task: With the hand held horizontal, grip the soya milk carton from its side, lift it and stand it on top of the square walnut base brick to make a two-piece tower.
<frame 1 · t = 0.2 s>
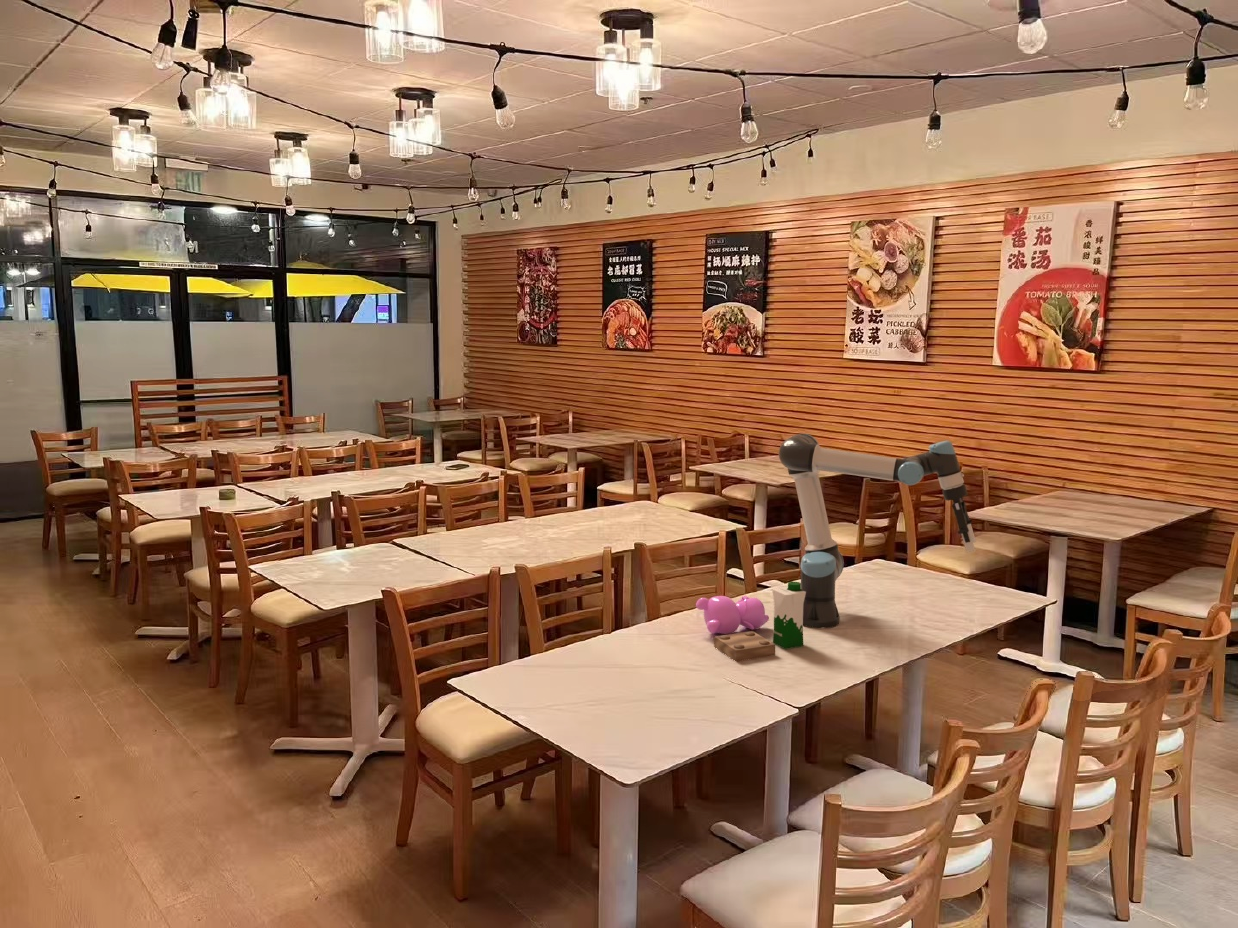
hand: (971, 547, 303), 28 cm above the table, tool tilted 20°, fingers open, 13 cm apart
soya milk: (787, 645, 291), on the table
toy character: (731, 631, 305), on the table
base brick: (744, 652, 285), on the table
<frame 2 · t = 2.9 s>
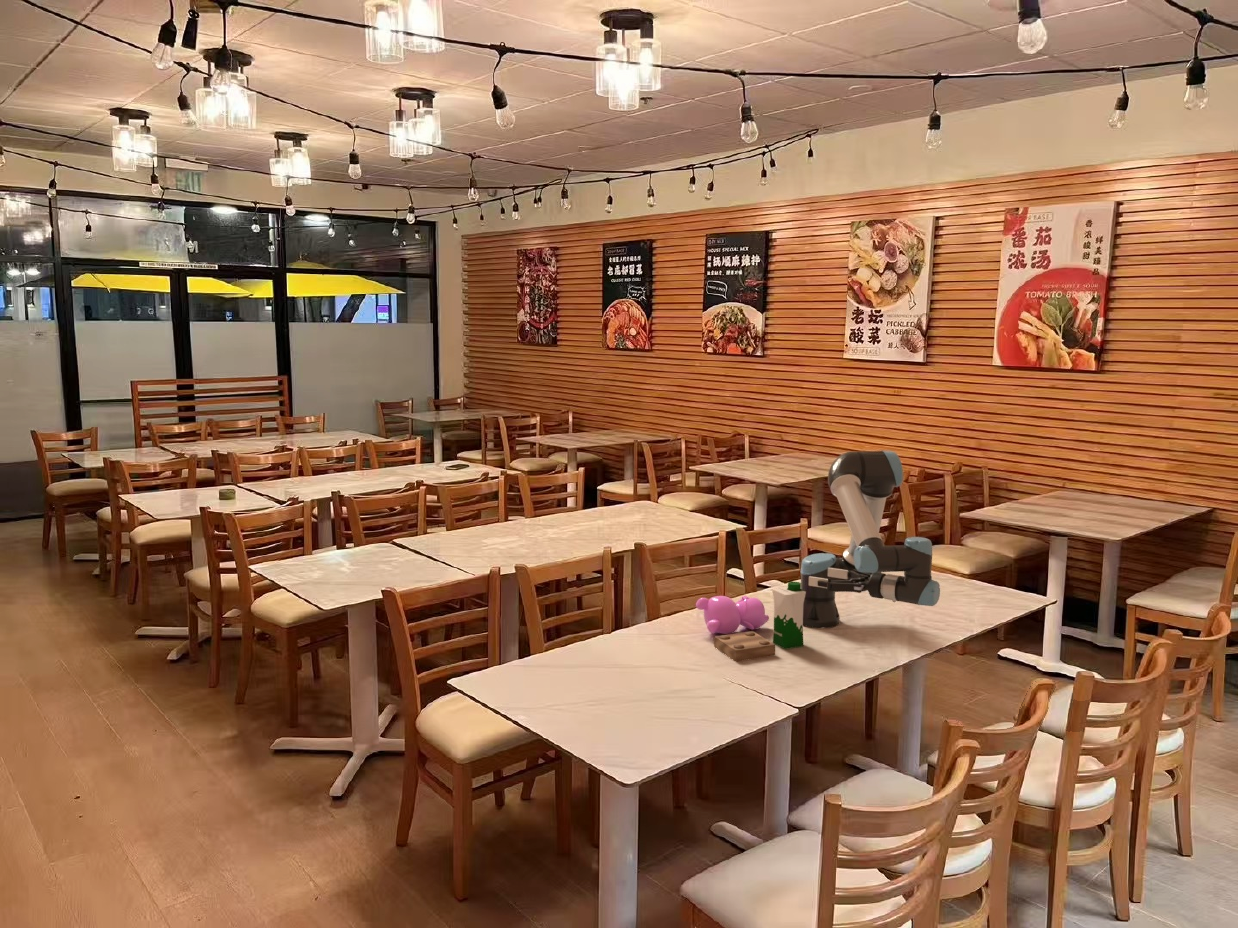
hand: (818, 576, 281), 24 cm above the table, tool horizontal, fingers open, 13 cm apart
nothing on the table moved.
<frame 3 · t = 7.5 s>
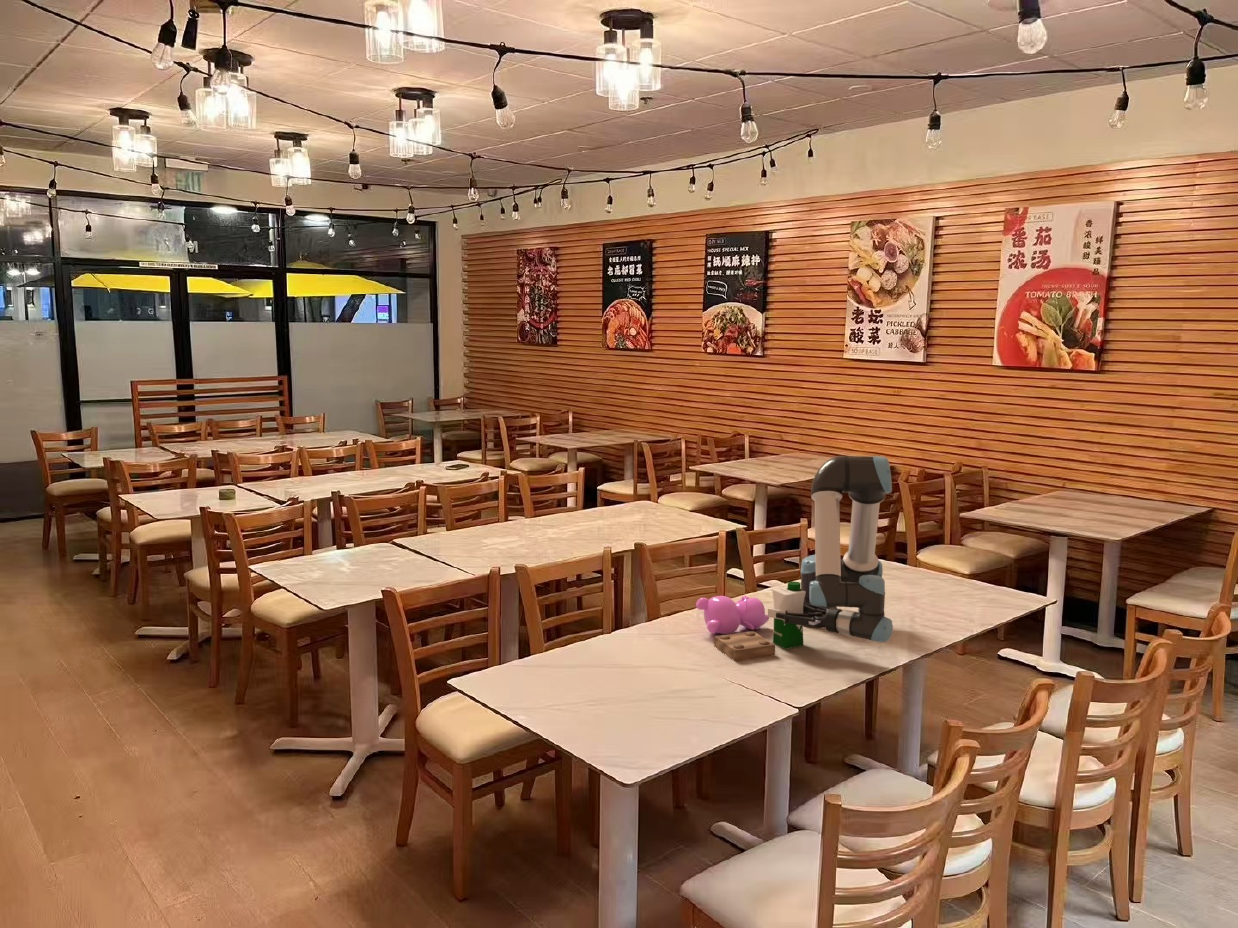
hand: (775, 608, 292), 11 cm above the table, tool horizontal, fingers closed on soya milk, 9 cm apart
soya milk: (787, 644, 291), on the table, touching gripper
everything else where it was.
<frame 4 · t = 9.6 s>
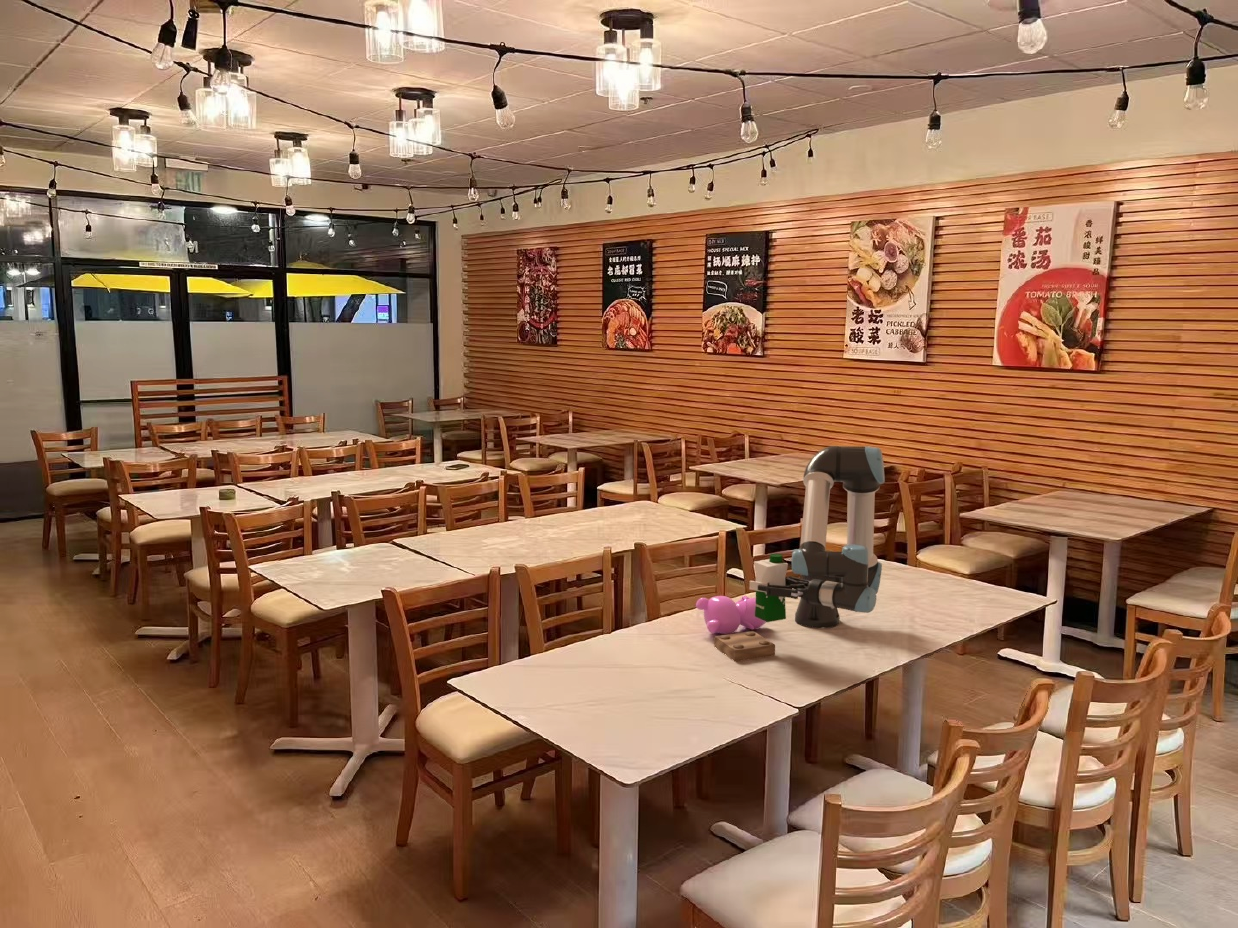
hand: (757, 581, 287), 21 cm above the table, tool horizontal, fingers closed on soya milk, 9 cm apart
soya milk: (770, 618, 285), point 10 cm above the table, touching gripper
everything else where it was.
when the fingers open (16 cm above the table, at t = 11.8 s): soya milk drops 2 cm, point 4 cm above the table.
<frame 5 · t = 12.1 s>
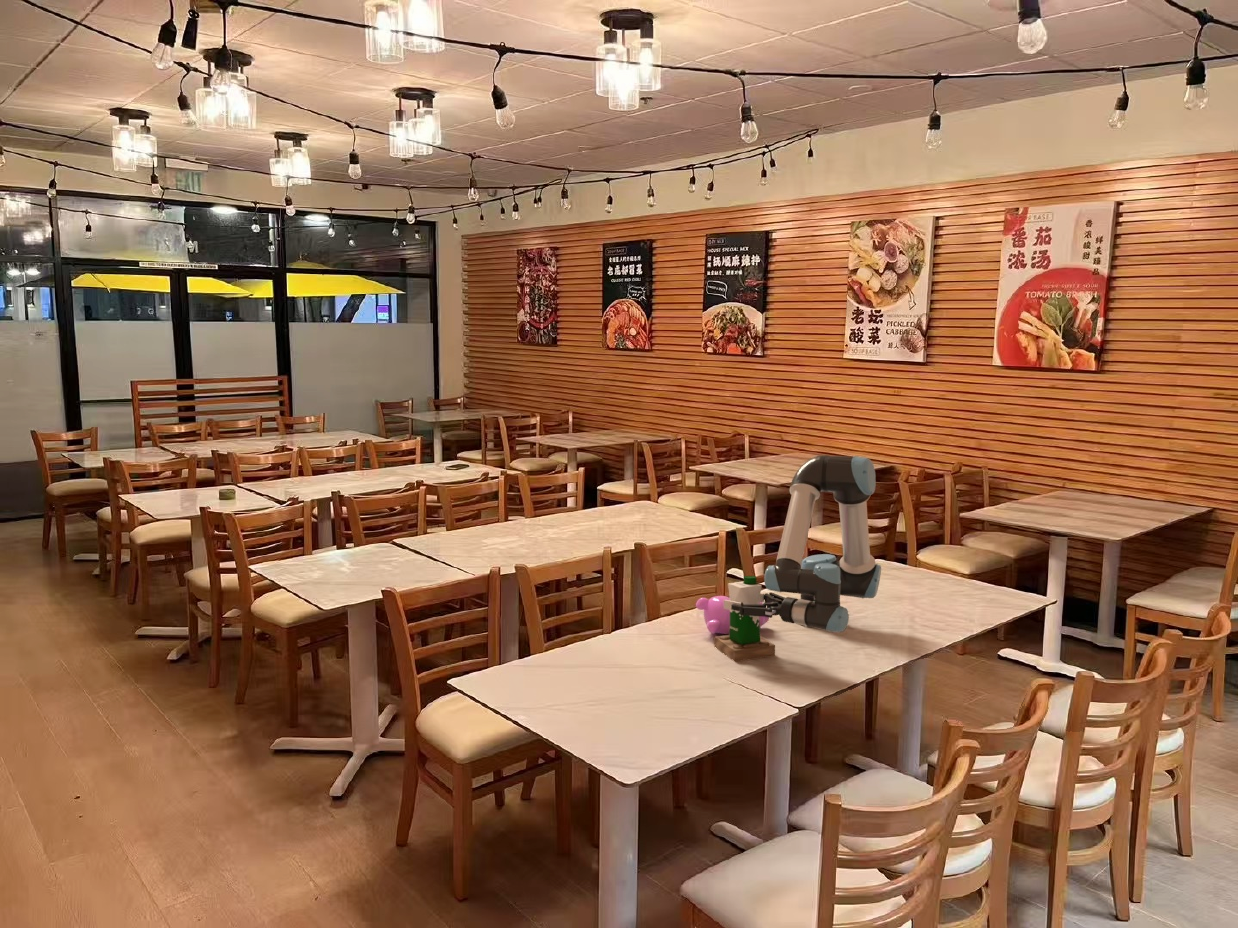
hand: (734, 599, 285), 16 cm above the table, tool horizontal, fingers open, 12 cm apart
soya milk: (744, 641, 284), point 4 cm above the table
everything else where it was.
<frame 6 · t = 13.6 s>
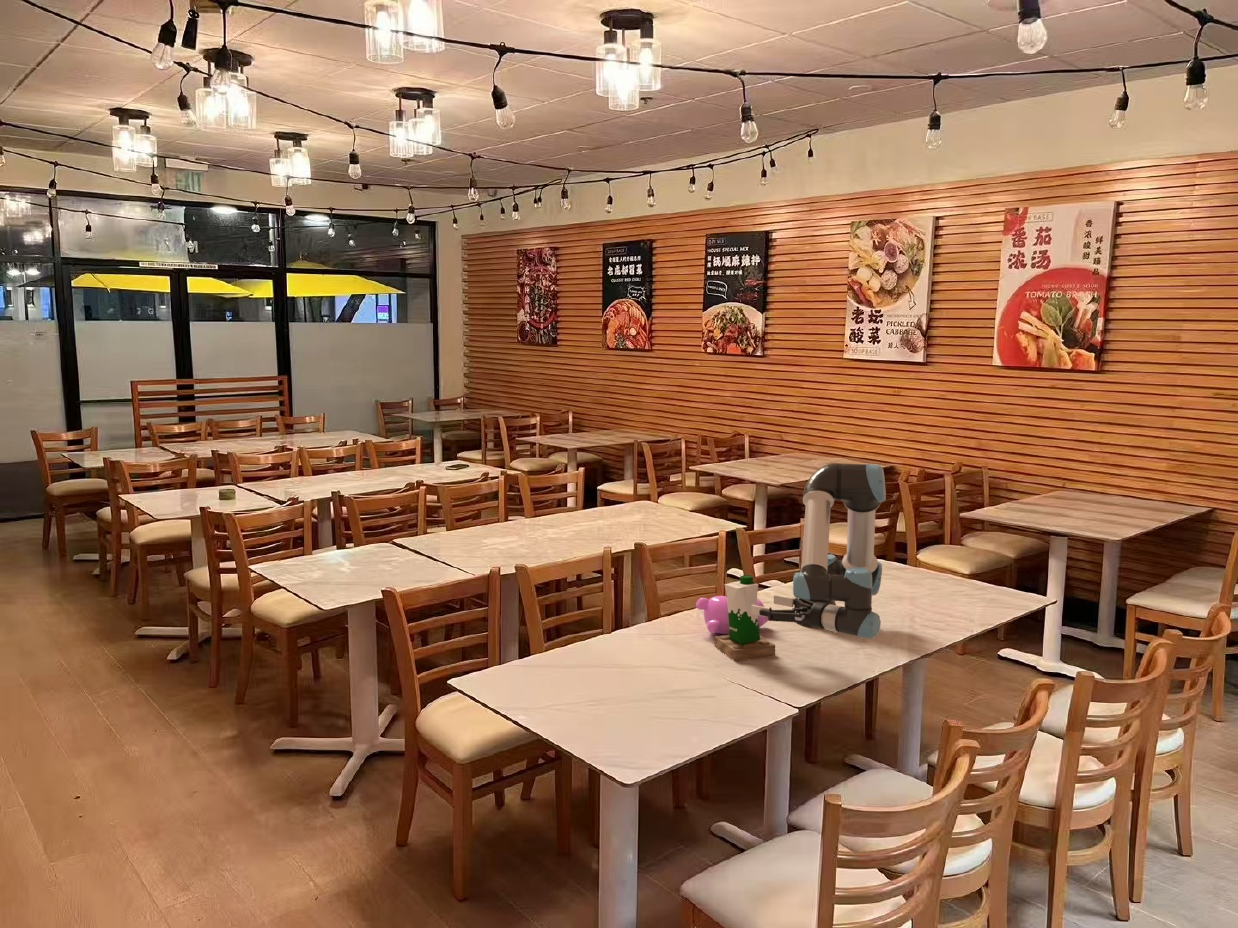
hand: (763, 604, 278), 17 cm above the table, tool horizontal, fingers open, 13 cm apart
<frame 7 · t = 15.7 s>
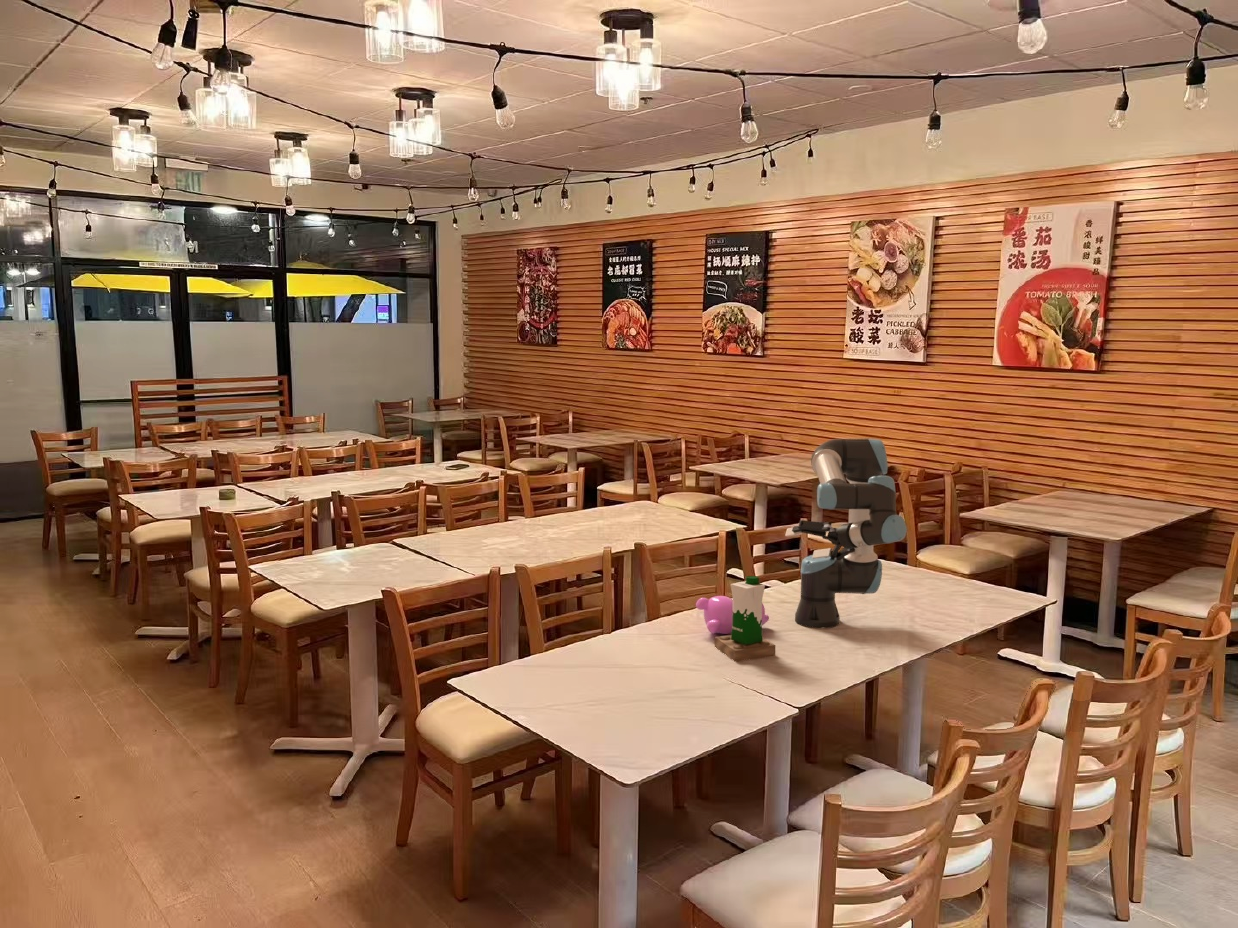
hand: (800, 543, 283), 34 cm above the table, tool tilted 75°, fingers open, 13 cm apart
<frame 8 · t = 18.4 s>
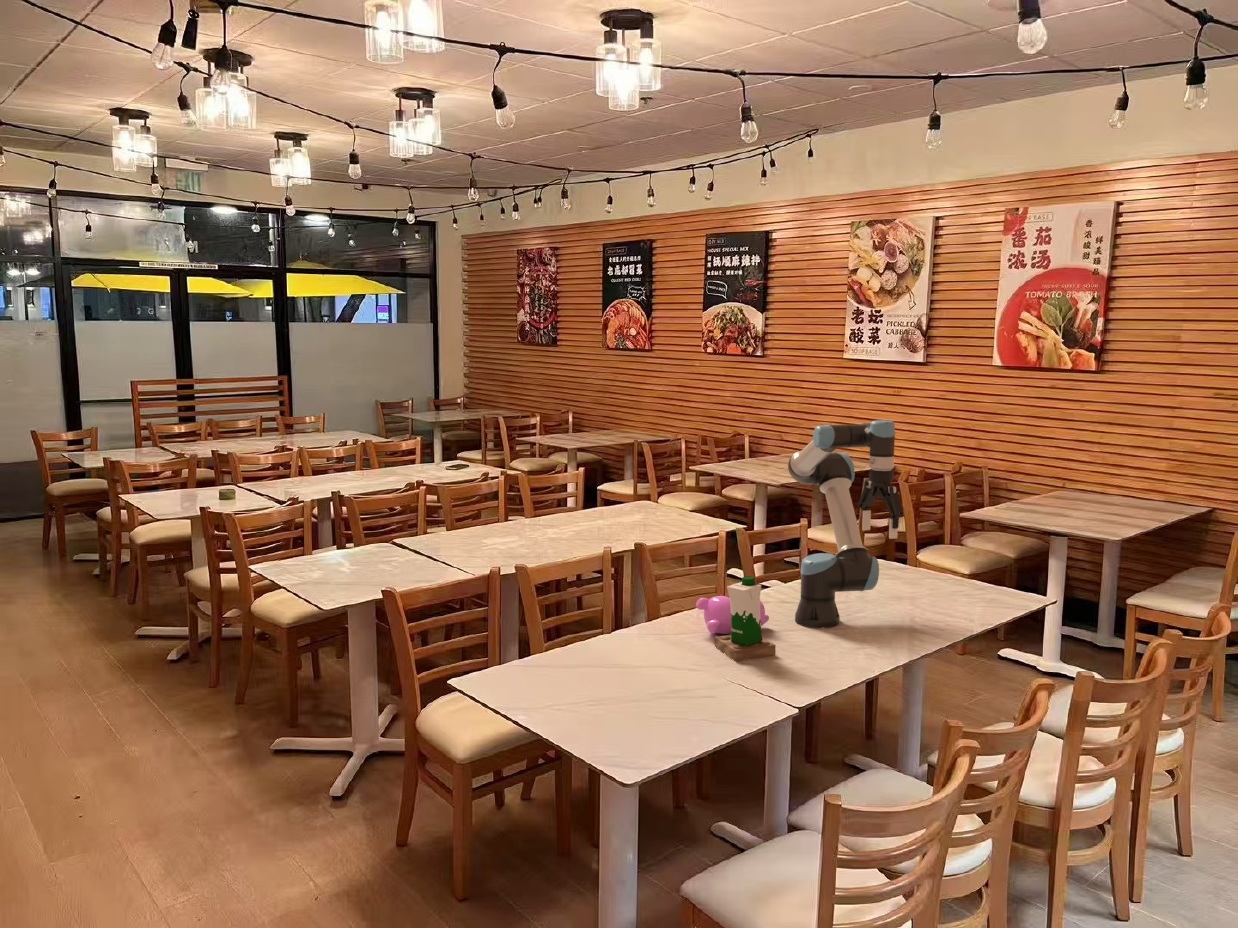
hand: (879, 534, 291), 35 cm above the table, tool pointing down, fingers open, 13 cm apart
soya milk: (746, 642, 283), point 3 cm above the table, touching base brick
base brick: (744, 653, 285), on the table, touching soya milk
everything else where it was.
at the end: soya milk inside the target area on the base brick (1.3 cm from its centre), point 4.1 cm above the base brick's base; soya milk tilted 3°; the gripper is holding nothing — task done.
